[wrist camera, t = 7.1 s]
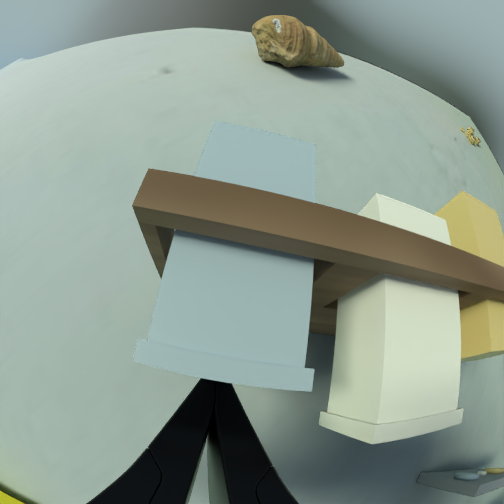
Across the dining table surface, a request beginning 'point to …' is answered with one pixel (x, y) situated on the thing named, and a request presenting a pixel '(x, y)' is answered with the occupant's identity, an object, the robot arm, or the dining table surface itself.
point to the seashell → (293, 43)
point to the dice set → (471, 136)
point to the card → (465, 480)
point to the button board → (307, 240)
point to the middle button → (396, 347)
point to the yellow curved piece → (8, 499)
